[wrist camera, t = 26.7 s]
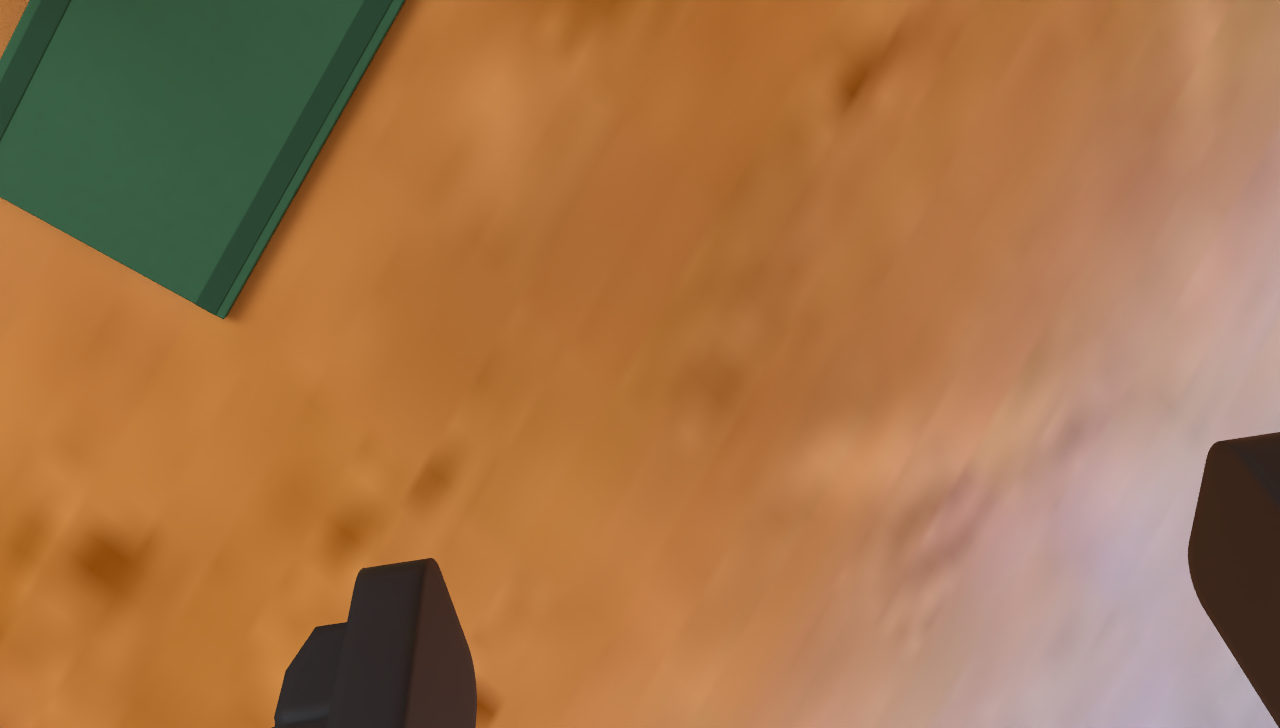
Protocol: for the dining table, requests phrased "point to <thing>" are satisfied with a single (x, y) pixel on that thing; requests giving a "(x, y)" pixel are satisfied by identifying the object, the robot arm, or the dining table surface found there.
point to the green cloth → (177, 124)
